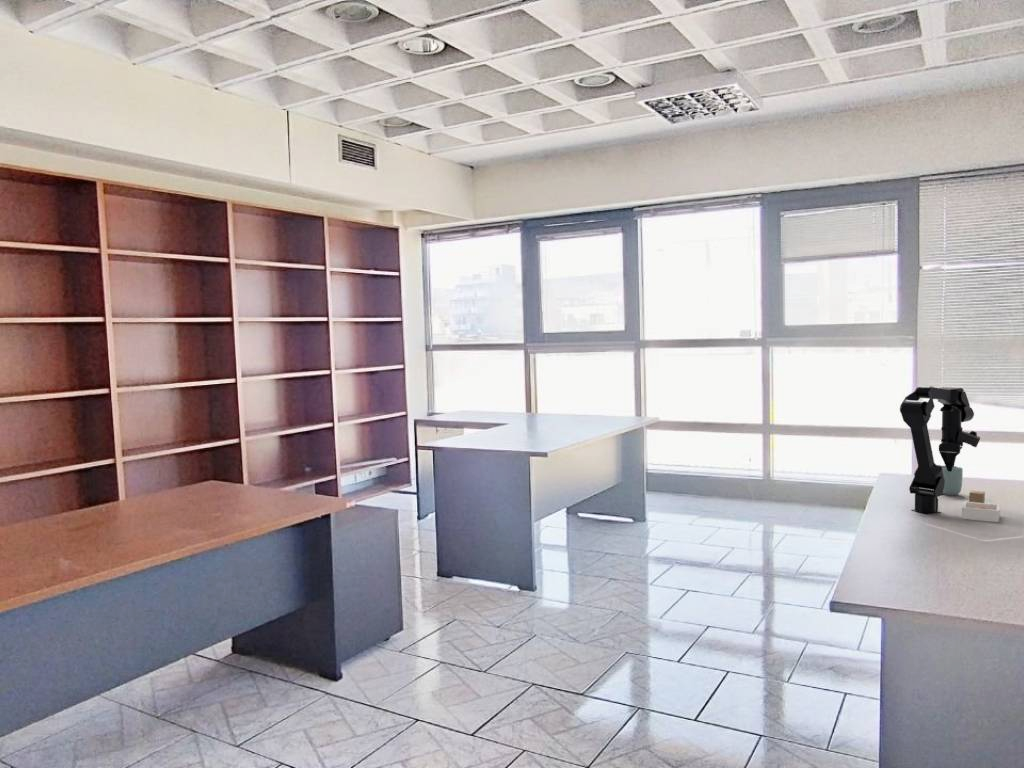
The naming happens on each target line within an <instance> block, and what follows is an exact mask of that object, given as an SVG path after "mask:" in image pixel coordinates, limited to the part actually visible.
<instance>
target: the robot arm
mask: <svg viewBox="0 0 1024 768" xmlns="http://www.w3.org/2000/svg"><path fill="white" fill-rule="evenodd" d="M920 399H929V400H927V401H926V400H925V401H924V400H920ZM934 400H937V402H938V403H940V404H942V405H943V406H942V407H940V410H939V411H940V412H942V413H941V427H940V430H941V439H940V442H941V443H939V444H938V452H939V454H940V456H941V458H942V460H943V462H944V466H946V468H947V470H948V471H949V472H951V471H952V468H953V467H954V466H955V463H956V459H957V456H958V455H959V454H961V450H962V449H963V446H964V443H965V444H967V445H969V446H972V447H973V448H977V447H978V445H979V443H980V440H981V437H980V436H978V432H977V431H974V430H971V431H970V432H968V431H963V427H962V423H965V422H969V421H971V420H972V419H974V416H975V411H974V410H973V408H972V407H971V404H970V402H969V399H968V396H967V393H966V391H965V390H964V388H962V387H951V386H949V387H947V386H943V387H934V386H931V385H930V386H929V385H919V386H917V387H916V388H915V390H914V391H912V392H911V393H910V394H908V395H906V396H905V398H904V399H903V400H902V402H901V404H900V407H899V413H900V414H901V418H902V420H903V422H904V423H905V424H906V425H907V426H908V427H909V428H910V433H911V436H912V443H913V448H914V452H915V459H916V464H917V468H916V469H915V471H914V474H913V478H912V481H911V483H910V485H909V487H908V488H909V489H908V490H909V493H910V494H914V509H911V510H910V511H911V512H916V513H919V514H922V515H936V514H941V513H942V512H941V511H939V499H938V498H939V497H942V496H943V495H944V494H943V489H944V484H945V479H944V477H943V476H944V475H943V471H942V467H941V466H942V465H941V464H936V463H935V460H934V454H933V449H932V445H931V439H930V434H929V433H930V432H929V429H928V423H929V421H930V419H931V417H932V412H933V410H934V409H935V402H934Z"/></svg>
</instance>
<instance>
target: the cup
mask: <svg viewBox="0 0 1024 768" xmlns="http://www.w3.org/2000/svg"><path fill="white" fill-rule="evenodd" d="M941 467H942V471H943V475H944V476H943V477H944V479H945V484H944V489H943V495H944V496H945V495H946V496H957V495H959V494H960V493H961V492H962V487H963V478H964V477H963V467H961V466H956V465H954V467H953V468H952V471H951V472H949V471H948V470H947V468H946V466H945V465H941Z"/></svg>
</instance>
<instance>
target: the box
mask: <svg viewBox="0 0 1024 768" xmlns="http://www.w3.org/2000/svg"><path fill="white" fill-rule="evenodd" d="M979 506H983V507H985V508H986V509H979V508H977V507H979ZM1000 506H1001V505H1000V504H999V503H998V504H997V503H986V502H985V503H976V502H969V501H963V503H962V507H961V519H963V520H974V521H983V522H984V521H985V522H996V523H999V522H1000V518H1001V517H1000V516H1001V512H1000V511H1001V507H1000Z"/></svg>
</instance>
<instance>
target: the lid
mask: <svg viewBox="0 0 1024 768" xmlns="http://www.w3.org/2000/svg"><path fill="white" fill-rule="evenodd" d="M985 495H986V493H985V491H980V490H970V491H969V497H968V499H969V500H968V502H976V503H986V502H985V501H986V499H985Z"/></svg>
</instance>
